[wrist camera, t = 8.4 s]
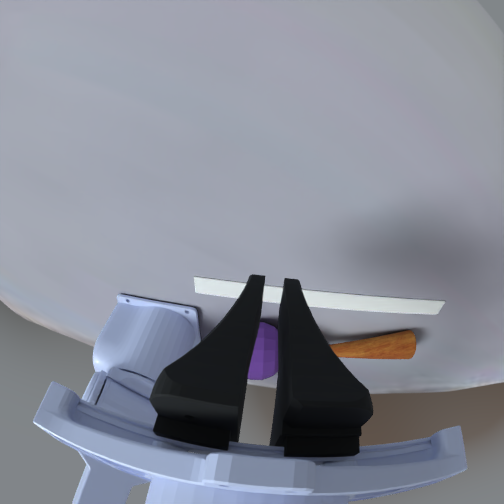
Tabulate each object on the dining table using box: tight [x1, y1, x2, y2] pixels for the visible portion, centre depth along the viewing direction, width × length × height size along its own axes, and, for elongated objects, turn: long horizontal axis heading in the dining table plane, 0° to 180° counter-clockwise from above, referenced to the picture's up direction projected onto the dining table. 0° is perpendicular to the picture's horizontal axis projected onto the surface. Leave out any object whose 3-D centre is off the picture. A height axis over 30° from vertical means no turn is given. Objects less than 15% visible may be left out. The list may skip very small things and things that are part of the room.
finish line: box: [194, 276, 445, 315], centre depth 26 cm, size 26×2×1 cm, turn 87°
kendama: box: [248, 322, 416, 380], centre depth 27 cm, size 6×6×20 cm
